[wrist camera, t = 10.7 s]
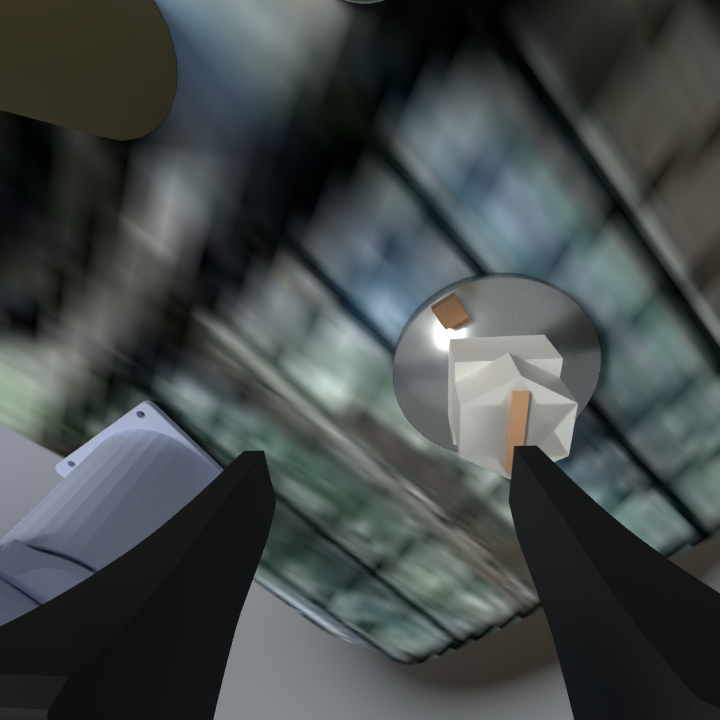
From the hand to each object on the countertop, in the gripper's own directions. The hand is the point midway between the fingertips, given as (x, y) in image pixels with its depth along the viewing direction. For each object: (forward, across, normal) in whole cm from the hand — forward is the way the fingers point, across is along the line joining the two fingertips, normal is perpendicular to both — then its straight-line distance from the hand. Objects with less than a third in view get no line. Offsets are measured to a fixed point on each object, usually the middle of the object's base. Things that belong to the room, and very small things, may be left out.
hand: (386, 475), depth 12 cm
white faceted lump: (+9, -5, +2) cm, 11 cm away
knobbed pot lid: (+10, -5, +2) cm, 12 cm away
